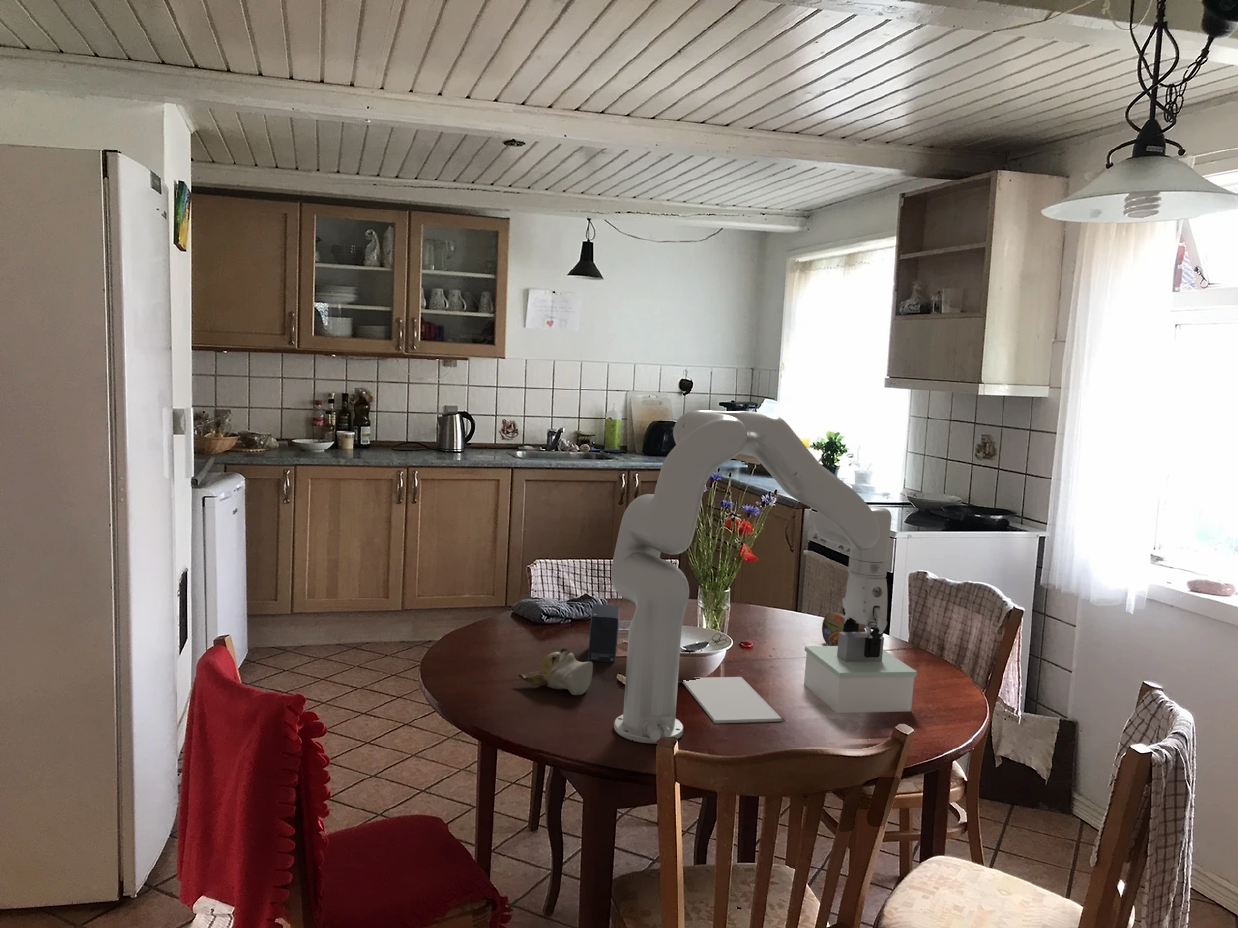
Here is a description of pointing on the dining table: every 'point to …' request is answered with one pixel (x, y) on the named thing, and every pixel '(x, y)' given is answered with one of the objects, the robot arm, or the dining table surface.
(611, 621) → the small box
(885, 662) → the lid
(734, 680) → the mat
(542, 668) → the ceramic sculpture
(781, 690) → the dining table surface
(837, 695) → the storage box
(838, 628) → the tin
